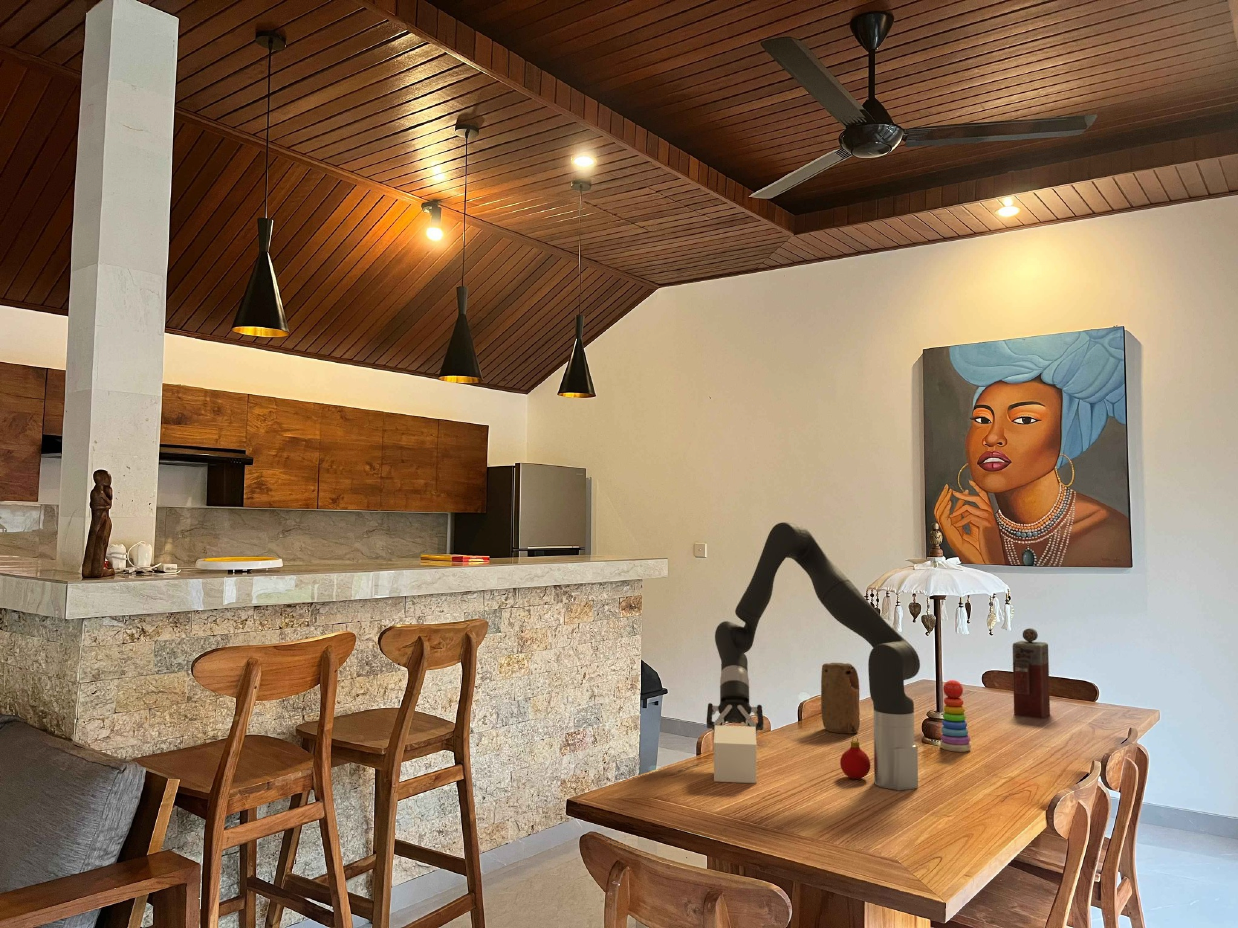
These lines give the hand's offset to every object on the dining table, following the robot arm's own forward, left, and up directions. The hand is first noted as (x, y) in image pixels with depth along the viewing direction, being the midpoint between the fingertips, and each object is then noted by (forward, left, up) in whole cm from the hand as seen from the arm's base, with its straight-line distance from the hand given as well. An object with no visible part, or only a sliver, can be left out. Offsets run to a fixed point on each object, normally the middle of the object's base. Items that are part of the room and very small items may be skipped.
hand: (735, 742), depth 222 cm
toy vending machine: (+20, -127, -7) cm, 129 cm away
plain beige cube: (-4, +2, -6) cm, 8 cm away
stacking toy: (-4, -69, -7) cm, 69 cm away
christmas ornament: (-16, -24, -7) cm, 30 cm away
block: (+26, -54, -7) cm, 60 cm away
